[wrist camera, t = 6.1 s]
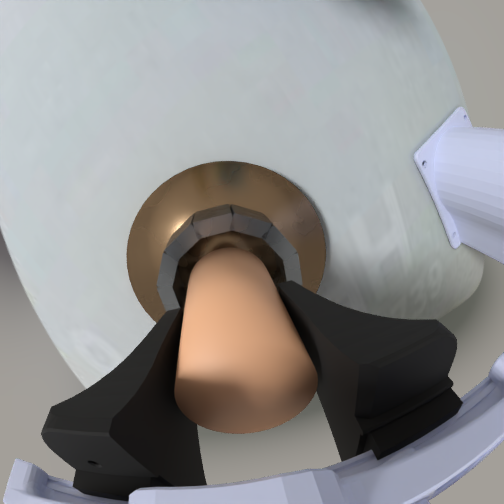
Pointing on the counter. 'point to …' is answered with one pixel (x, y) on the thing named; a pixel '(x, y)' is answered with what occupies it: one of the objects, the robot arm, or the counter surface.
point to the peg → (239, 348)
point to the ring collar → (221, 230)
